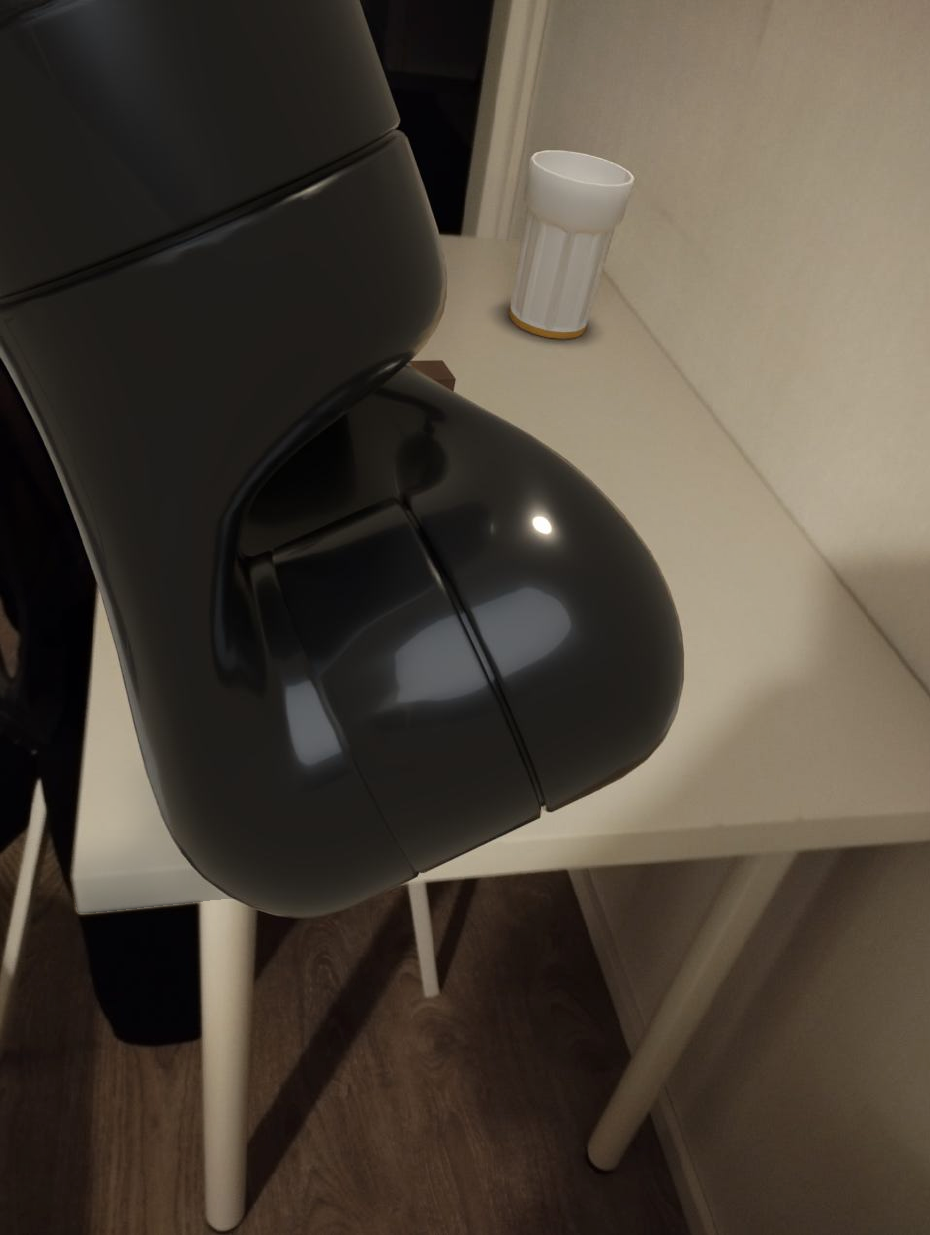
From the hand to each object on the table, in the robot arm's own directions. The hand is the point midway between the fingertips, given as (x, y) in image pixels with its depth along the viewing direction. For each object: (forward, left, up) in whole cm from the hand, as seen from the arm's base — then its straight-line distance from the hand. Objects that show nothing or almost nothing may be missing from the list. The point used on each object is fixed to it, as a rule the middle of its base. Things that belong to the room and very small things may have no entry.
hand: (168, 150), depth 42 cm
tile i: (+15, +26, -32) cm, 44 cm away
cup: (+34, +63, -32) cm, 79 cm away
